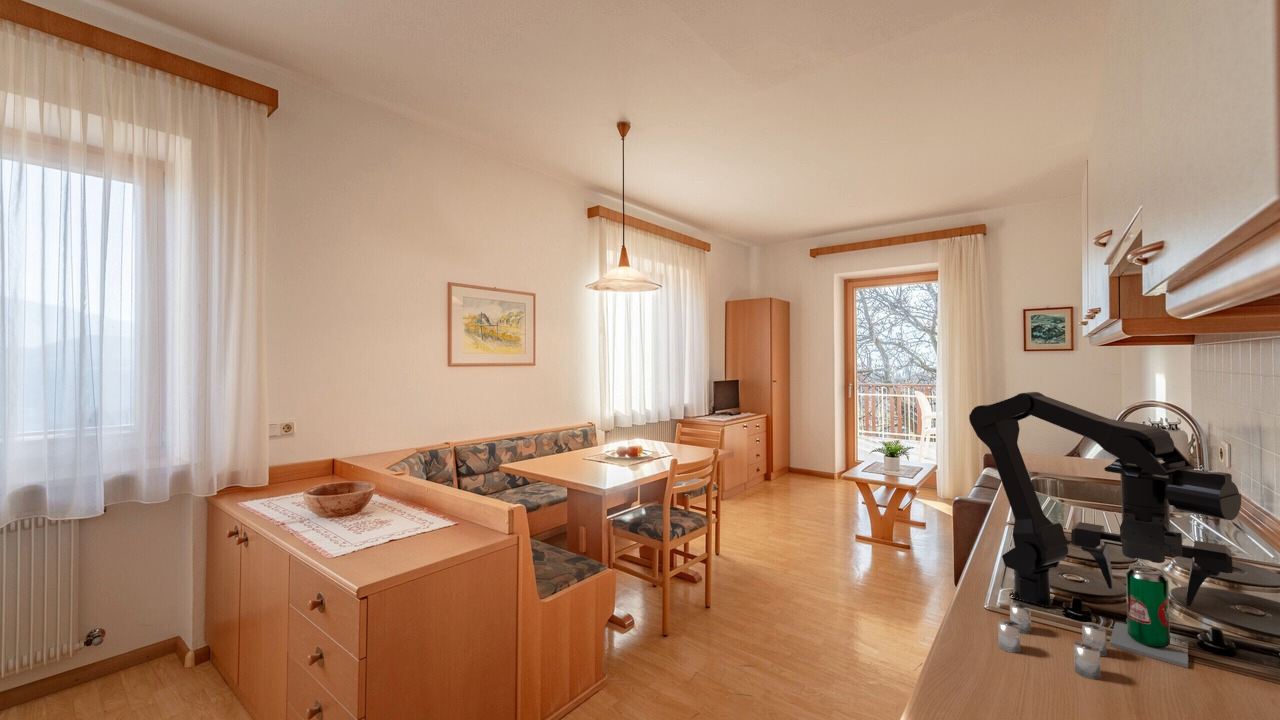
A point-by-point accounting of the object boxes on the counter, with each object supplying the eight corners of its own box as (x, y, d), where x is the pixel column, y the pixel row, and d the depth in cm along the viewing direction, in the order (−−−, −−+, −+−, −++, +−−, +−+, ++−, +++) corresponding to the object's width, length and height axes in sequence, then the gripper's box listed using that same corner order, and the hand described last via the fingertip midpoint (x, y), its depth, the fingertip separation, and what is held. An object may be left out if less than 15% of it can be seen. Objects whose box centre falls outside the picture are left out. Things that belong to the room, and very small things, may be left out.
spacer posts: (1012, 622, 94) (1011, 600, 94) (1108, 650, 85) (1107, 626, 85) (996, 647, 87) (995, 623, 87) (1099, 681, 77) (1098, 654, 77)
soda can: (1119, 632, 89) (1117, 563, 89) (1151, 633, 88) (1150, 563, 88) (1144, 649, 84) (1143, 575, 84) (1179, 650, 83) (1177, 576, 83)
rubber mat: (1115, 625, 92) (1115, 621, 92) (1188, 644, 86) (1188, 640, 86) (1109, 645, 86) (1109, 642, 86) (1188, 668, 80) (1187, 664, 80)
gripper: (1064, 503, 87) (1067, 595, 87) (1232, 527, 73) (1236, 636, 73) (1075, 490, 95) (1078, 574, 95) (1229, 509, 81) (1232, 608, 81)
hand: (1148, 596), depth 86 cm, fingers open, 9 cm apart
